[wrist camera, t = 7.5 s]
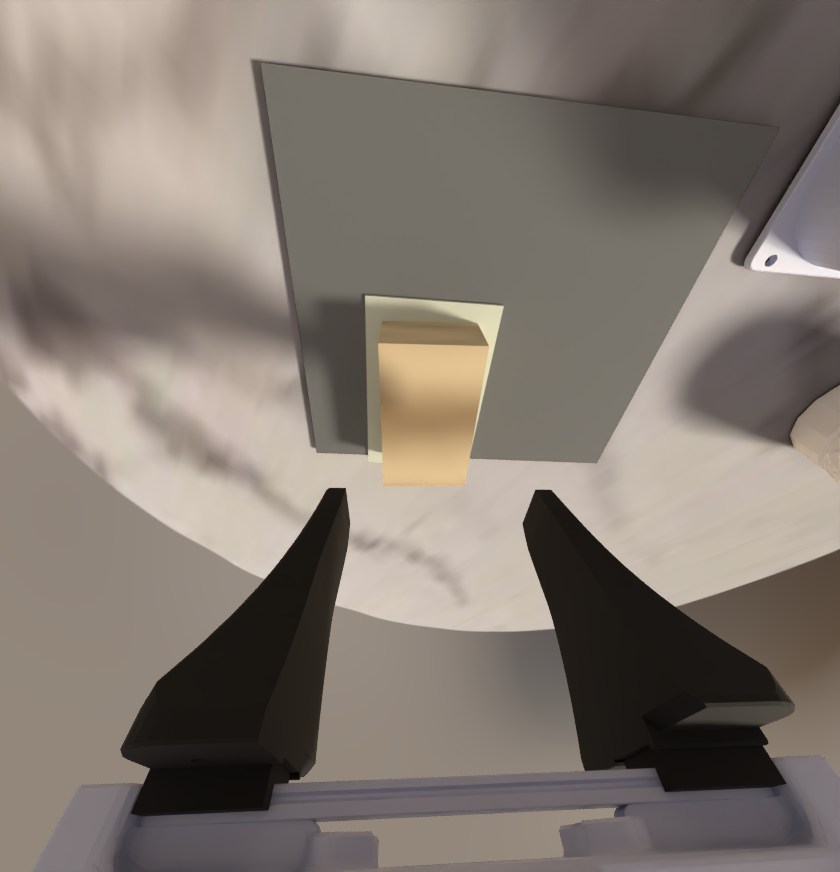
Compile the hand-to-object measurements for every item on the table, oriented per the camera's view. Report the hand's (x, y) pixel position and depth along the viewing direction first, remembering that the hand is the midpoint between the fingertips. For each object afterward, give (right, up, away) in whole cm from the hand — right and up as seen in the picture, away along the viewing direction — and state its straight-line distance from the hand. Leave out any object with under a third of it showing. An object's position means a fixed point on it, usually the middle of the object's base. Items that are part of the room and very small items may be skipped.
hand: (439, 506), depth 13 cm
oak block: (0, +5, +7) cm, 9 cm away
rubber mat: (+3, +9, +5) cm, 11 cm away
